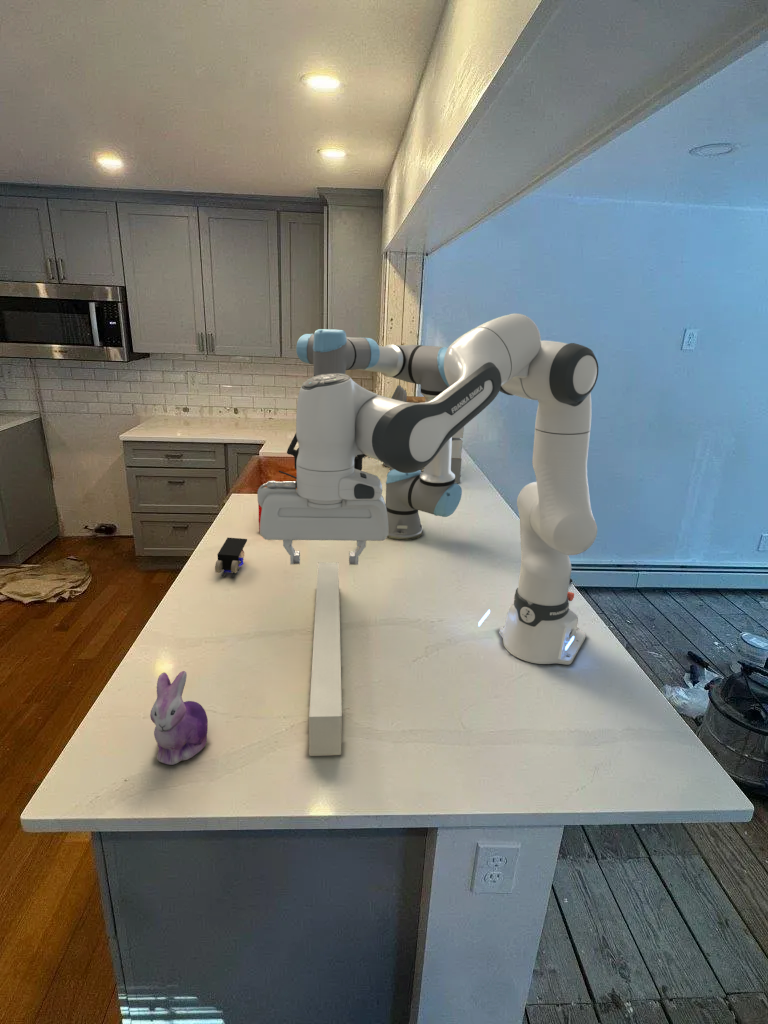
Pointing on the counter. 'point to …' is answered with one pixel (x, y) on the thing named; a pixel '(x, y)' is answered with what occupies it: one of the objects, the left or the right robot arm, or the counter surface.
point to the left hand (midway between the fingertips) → (328, 482)
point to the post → (326, 666)
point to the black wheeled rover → (230, 556)
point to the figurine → (177, 722)
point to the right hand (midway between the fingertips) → (324, 563)
